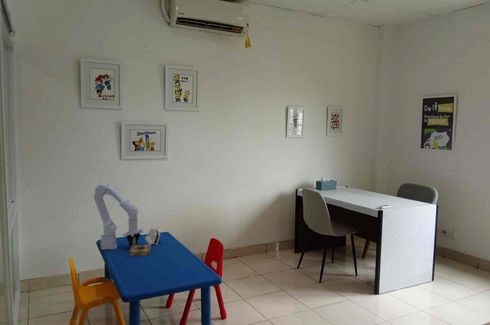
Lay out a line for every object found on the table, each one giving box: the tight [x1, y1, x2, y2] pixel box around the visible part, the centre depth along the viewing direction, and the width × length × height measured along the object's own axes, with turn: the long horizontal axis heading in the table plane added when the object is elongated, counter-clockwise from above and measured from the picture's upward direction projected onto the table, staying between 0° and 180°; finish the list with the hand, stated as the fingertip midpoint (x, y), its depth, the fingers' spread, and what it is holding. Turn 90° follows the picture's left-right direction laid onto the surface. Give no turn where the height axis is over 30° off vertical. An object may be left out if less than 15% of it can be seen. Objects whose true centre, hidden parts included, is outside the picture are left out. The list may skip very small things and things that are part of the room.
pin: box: [130, 235, 137, 248], centre depth 256 cm, size 4×4×7 cm
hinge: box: [144, 228, 161, 246], centre depth 269 cm, size 17×5×10 cm, turn 27°
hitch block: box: [129, 244, 152, 257], centre depth 245 cm, size 12×12×3 cm
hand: (133, 244), depth 256 cm, fingers closed on pin, 4 cm apart
